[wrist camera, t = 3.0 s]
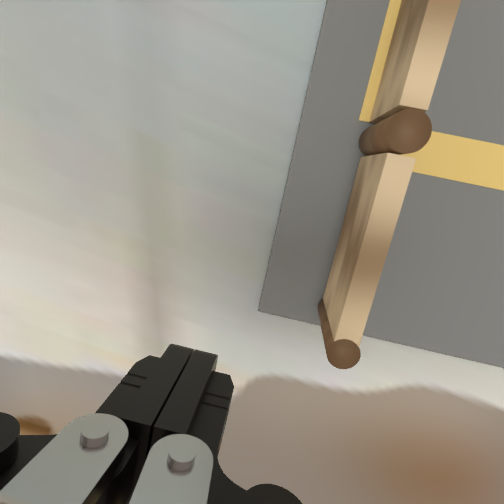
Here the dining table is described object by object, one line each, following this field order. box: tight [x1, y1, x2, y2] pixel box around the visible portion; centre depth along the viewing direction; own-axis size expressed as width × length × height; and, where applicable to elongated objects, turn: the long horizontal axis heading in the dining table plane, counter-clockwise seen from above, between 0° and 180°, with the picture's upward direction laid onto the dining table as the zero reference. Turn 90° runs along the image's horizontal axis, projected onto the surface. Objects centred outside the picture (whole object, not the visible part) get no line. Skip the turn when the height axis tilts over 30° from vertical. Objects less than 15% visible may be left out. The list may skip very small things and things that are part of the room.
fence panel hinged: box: [318, 153, 416, 369], centre depth 19 cm, size 10×2×6 cm, turn 168°
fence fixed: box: [359, 0, 461, 156], centre depth 17 cm, size 12×2×6 cm, turn 168°
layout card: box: [258, 0, 504, 368], centre depth 21 cm, size 24×17×1 cm
